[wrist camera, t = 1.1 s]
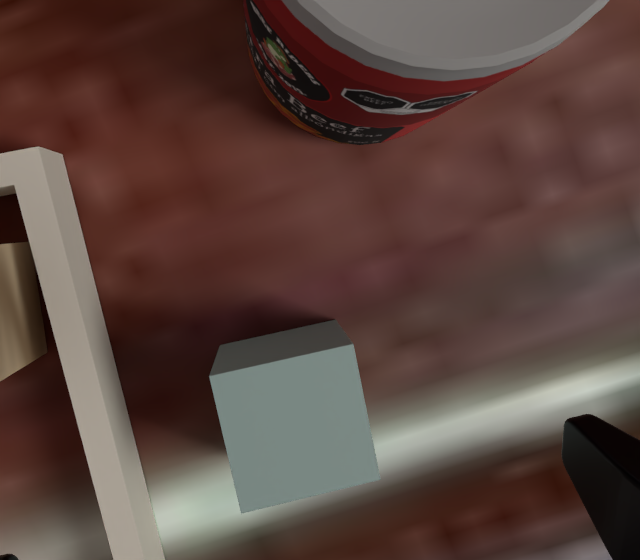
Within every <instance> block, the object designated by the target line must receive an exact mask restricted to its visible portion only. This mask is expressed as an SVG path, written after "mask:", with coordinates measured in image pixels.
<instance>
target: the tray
mask: <svg viewBox="0 0 640 560" xmlns="http://www.w3.org/2000/svg"><path fill="white" fill-rule="evenodd" d="M15 193H16V194H17V198H18V202H19V205H20V209H21V213H22V217H23V220H24V224H25V228H26V232H27V235H28V239H29V243H30V247H31V251H32V254H33V258H34V262H35V266H36V269H37V273H38V277H39V281H40V285H41V288H42V292H43V296H44V300H45V303H46V307H47V311H48V315H49V318H50V322H51V326H52V330H53V334H54V337H55V341H56V345H57V349H58V352H59V356H60V360H61V364H62V368H63V371H64V375H65V379H66V383H67V386H68V390H69V394H70V398H71V401H72V405H73V409H74V413H75V417H76V420H77V424H78V428H79V432H80V435H81V439H82V443H83V447H84V451H85V454H86V458H87V462H88V466H89V469H90V473H91V477H92V481H93V485H94V488H95V492H96V496H97V500H98V503H99V507H100V511H101V515H102V518H103V522H104V526H105V530H106V534H107V537H108V541H109V545H110V549H111V552H112V556H113V560H165V557H164V553H163V550H162V546H161V542H160V538H159V534H158V530H157V526H156V522H155V518H154V514H153V510H152V506H151V502H150V498H149V494H148V490H147V486H146V482H145V479H144V475H143V471H142V467H141V463H140V459H139V455H138V451H137V447H136V443H135V439H134V435H133V431H132V427H131V423H130V419H129V415H128V411H127V407H126V404H125V400H124V396H123V392H122V388H121V384H120V380H119V376H118V372H117V368H116V364H115V360H114V356H113V352H112V348H111V344H110V340H109V336H108V332H107V329H106V325H105V321H104V317H103V313H102V309H101V305H100V301H99V297H98V293H97V289H96V285H95V281H94V277H93V273H92V269H91V265H90V261H89V257H88V254H87V250H86V246H85V242H84V238H83V234H82V230H81V226H80V222H79V218H78V214H77V210H76V206H75V202H74V198H73V194H72V190H71V186H70V183H69V179H68V175H67V171H66V167H65V163H64V159H63V155H62V154H60V153H57V152H54V151H51V150H48V149H45V148H42V147H39V146H38V147H32V148H27V149H22V150H17V151H11V152H6V153H1V154H0V196H5V195H10V194H15Z"/></svg>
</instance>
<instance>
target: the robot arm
mask: <svg viewBox="0 0 640 560" xmlns="http://www.w3.org/2000/svg"><path fill="white" fill-rule="evenodd" d="M562 460H563V463H564V466H565V468H566V470H567V472H568V474H569V476H570V478H571V480H572V482H573V484H574V486H575V488H576V490H577V492H578V494H579V496H580V498H581V500H582V502H583V504H584V506H585V508H586V510H587V512H588V514H589V516H590V518H591V520H592V522H593V524H594V525H595V527H596V529H597V531H598V533H599V535H600V537H601V539H602V541H603V543H604V545H605V547H606V549H607V550H608V552H609V554H610V556H611V557H612V559H613V560H640V440H638V439H637V438H635V437H633V436H631V435H629V434H627V433H626V432H624V431H622V430H620V429H618V428H616V427H614V426H613V425H611V424H609V423H607V422H605V421H603V420H602V419H600V418H598V417H596V416H594V415H590V414H585V415H581V416H577V417H572V418H569V419H567V420H566V422H565V424H564V431H563V443H562ZM0 560H18V558H17V557H16V556H15V555H13V554H5V555H1V556H0Z"/></svg>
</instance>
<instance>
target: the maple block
mask: <svg viewBox="0 0 640 560" xmlns="http://www.w3.org/2000/svg"><path fill="white" fill-rule="evenodd" d="M47 352H48V351H47V344H46V338H45V331H44V325H43V318H42V312H41V305H40V299H39V292H38V285H37V279H36V272H35V266H34V259H33V254H32V251H31V247H30V243H29V242H20V243H9V244H0V381H2V380H3V379H5V378H7V377H8V376H10V375H11V374H13V373H15V372H16V371H18V370H20V369H21V368H23V367H25V366H26V365H28V364H29V363H31V362H33V361H34V360H36V359H38V358H39V357H41V356H42V355H44V354H46V353H47Z"/></svg>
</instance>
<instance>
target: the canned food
mask: <svg viewBox="0 0 640 560" xmlns="http://www.w3.org/2000/svg"><path fill="white" fill-rule="evenodd" d="M608 1H609V0H243V4H244V14H245V24H246V34H247V44H248V53H249V57H250V60H251V63H252V67H253V70H254V73H255V76H256V78H257V80H258V81H259V83H260V85H261V87H262V89H263V91H264V92H265V94H266V96H267V97H268V98H269V100H270V101H271V102H272V103H273V104H274V105H275V107H276V108H277V109H278V110H279V111H280V113H281V114H283V115H284V116H285V117H286V118H288V119H289V120H290V121H291V122H293V123H294V124H295V125H296V126H298V127H299V128H301V129H303V130H305V131H307V132H309V133H311V134H313V135H315V136H317V137H320V138H323V139H327V140H330V141H334V142H337V143H345V144H357V145H363V144H372V143H381V142H385V141H388V140H391V139H394V138H398V137H401V136H404V135H405V134H407V133H409V132H411V131H413V130H415V129H416V128H418V127H420V126H422V125H424V124H425V123H427V122H429V121H431V120H432V119H434V118H436V117H438V116H439V115H441V114H443V113H445V112H446V111H448V110H450V109H452V108H453V107H455V106H457V105H458V104H460V103H462V102H464V101H465V100H467V99H469V98H471V97H472V96H474V95H476V94H478V93H479V92H481V91H483V90H485V89H486V88H488V87H490V86H492V85H493V84H495V83H497V82H498V81H500V80H502V79H504V78H505V77H507V76H509V75H511V74H512V73H514V72H516V71H518V70H519V69H521V68H523V67H525V66H526V65H528V64H530V63H532V62H533V61H534V60H535V59H537V58H538V57H540V56H541V55H543V54H545V53H546V52H548V51H550V50H552V49H553V48H555V47H557V46H558V45H559V44H560V43H562V42H563V41H564V40H565V39H567V38H568V37H569V36H570V35H571V34H573V33H574V32H575V31H576V30H577V29H579V28H580V27H581V26H582V25H583V24H585V23H586V22H587V21H588V20H589V19H590V18H591V17H592V16H593V15H595V14H596V13H597V12H598V11H599V10H601V9H602V8H603V7H604V6H605V5H606V3H607V2H608Z"/></svg>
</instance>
